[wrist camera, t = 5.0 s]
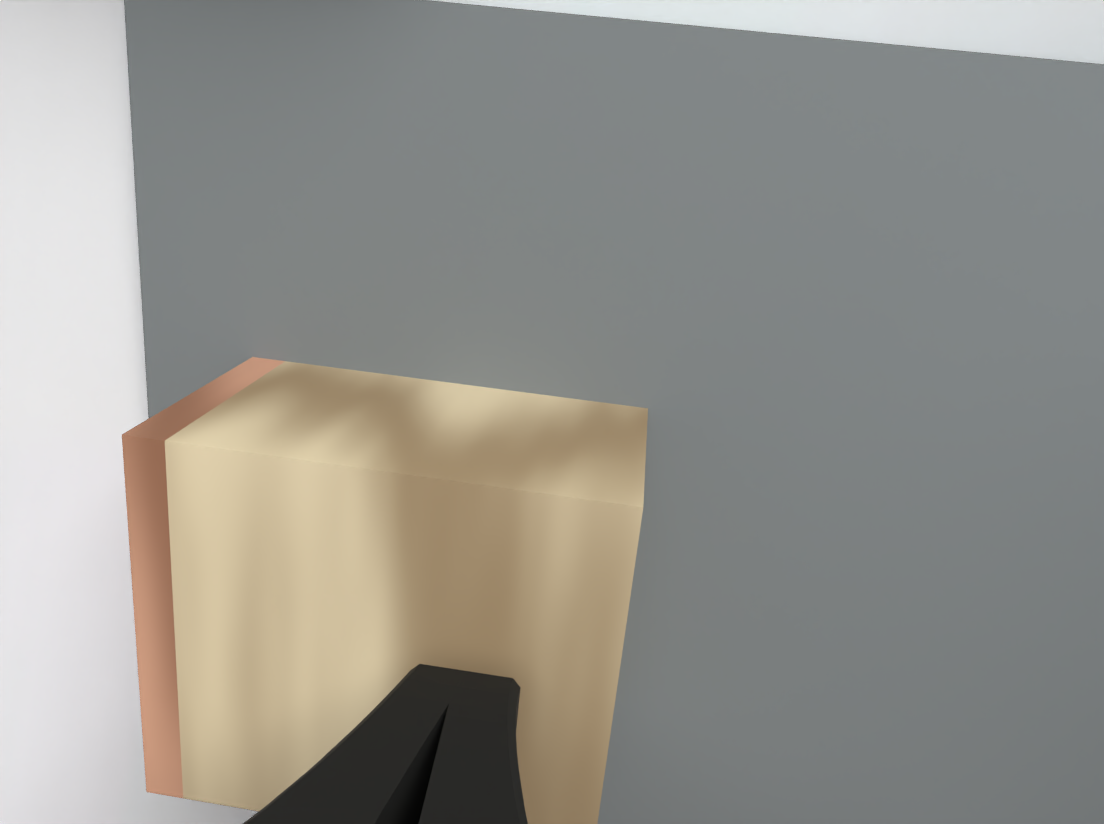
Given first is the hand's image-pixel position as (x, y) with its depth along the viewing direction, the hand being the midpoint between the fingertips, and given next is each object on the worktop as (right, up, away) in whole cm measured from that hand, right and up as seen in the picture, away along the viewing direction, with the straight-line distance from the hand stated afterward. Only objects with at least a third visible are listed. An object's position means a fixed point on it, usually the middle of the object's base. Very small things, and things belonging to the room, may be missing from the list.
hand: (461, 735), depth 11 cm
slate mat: (+4, +2, +4) cm, 6 cm away
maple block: (+2, +1, +3) cm, 4 cm away
